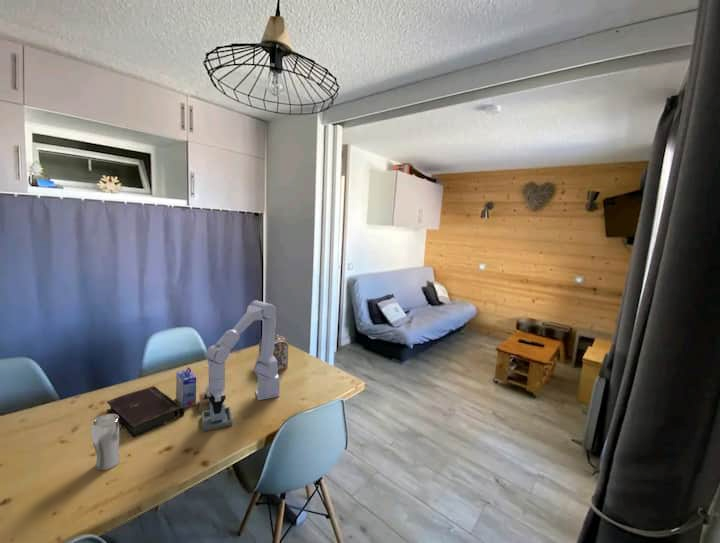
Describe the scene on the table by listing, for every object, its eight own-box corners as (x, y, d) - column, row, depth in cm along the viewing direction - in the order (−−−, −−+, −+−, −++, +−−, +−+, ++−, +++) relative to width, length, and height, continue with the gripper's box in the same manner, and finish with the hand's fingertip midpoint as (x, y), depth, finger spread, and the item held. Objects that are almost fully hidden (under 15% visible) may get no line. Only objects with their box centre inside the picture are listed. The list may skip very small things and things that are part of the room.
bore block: (219, 397, 141) (219, 389, 141) (221, 407, 134) (221, 398, 134) (199, 401, 138) (199, 392, 137) (199, 411, 131) (199, 402, 130)
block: (223, 411, 129) (223, 398, 128) (224, 419, 124) (224, 404, 123) (210, 414, 126) (209, 400, 125) (210, 422, 122) (210, 407, 121)
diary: (155, 395, 142) (155, 384, 141) (184, 417, 128) (184, 405, 127) (104, 413, 127) (103, 401, 126) (130, 440, 113) (130, 427, 112)
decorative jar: (258, 365, 175) (258, 333, 172) (277, 360, 183) (278, 329, 180) (268, 373, 166) (269, 340, 163) (288, 367, 174) (289, 336, 171)
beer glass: (104, 455, 105) (101, 413, 102) (126, 455, 105) (124, 413, 103) (88, 472, 98) (84, 427, 95) (112, 471, 98) (109, 427, 96)
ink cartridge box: (197, 404, 136) (196, 372, 134) (182, 408, 132) (182, 375, 130) (189, 394, 143) (189, 363, 141) (175, 398, 139) (174, 367, 137)
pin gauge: (213, 402, 138) (213, 384, 137) (213, 405, 135) (213, 388, 134) (206, 403, 137) (205, 385, 136) (206, 407, 134) (205, 389, 133)
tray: (229, 411, 132) (229, 406, 132) (232, 425, 123) (232, 420, 123) (202, 416, 128) (202, 411, 127) (202, 432, 119) (202, 427, 118)
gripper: (204, 369, 127) (205, 401, 129) (205, 387, 115) (206, 422, 117) (224, 367, 131) (224, 398, 133) (227, 383, 118) (227, 417, 120)
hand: (216, 409), depth 125 cm, fingers closed on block, 5 cm apart
